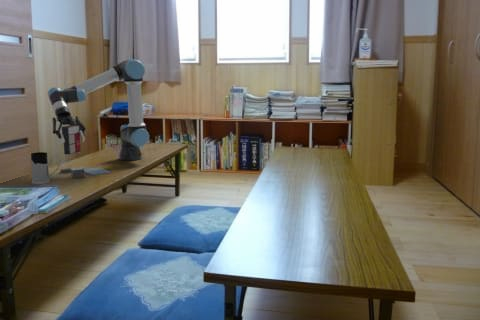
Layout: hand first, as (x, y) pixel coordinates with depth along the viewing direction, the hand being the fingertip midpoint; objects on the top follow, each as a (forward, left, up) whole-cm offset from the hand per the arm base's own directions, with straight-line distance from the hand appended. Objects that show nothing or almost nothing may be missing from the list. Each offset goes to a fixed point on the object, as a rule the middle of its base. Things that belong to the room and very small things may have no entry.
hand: (73, 141), depth 240 cm
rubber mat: (-13, -3, -19) cm, 23 cm away
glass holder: (+17, +6, -19) cm, 26 cm away
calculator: (0, -3, -7) cm, 7 cm away
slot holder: (+1, -3, -19) cm, 19 cm away
